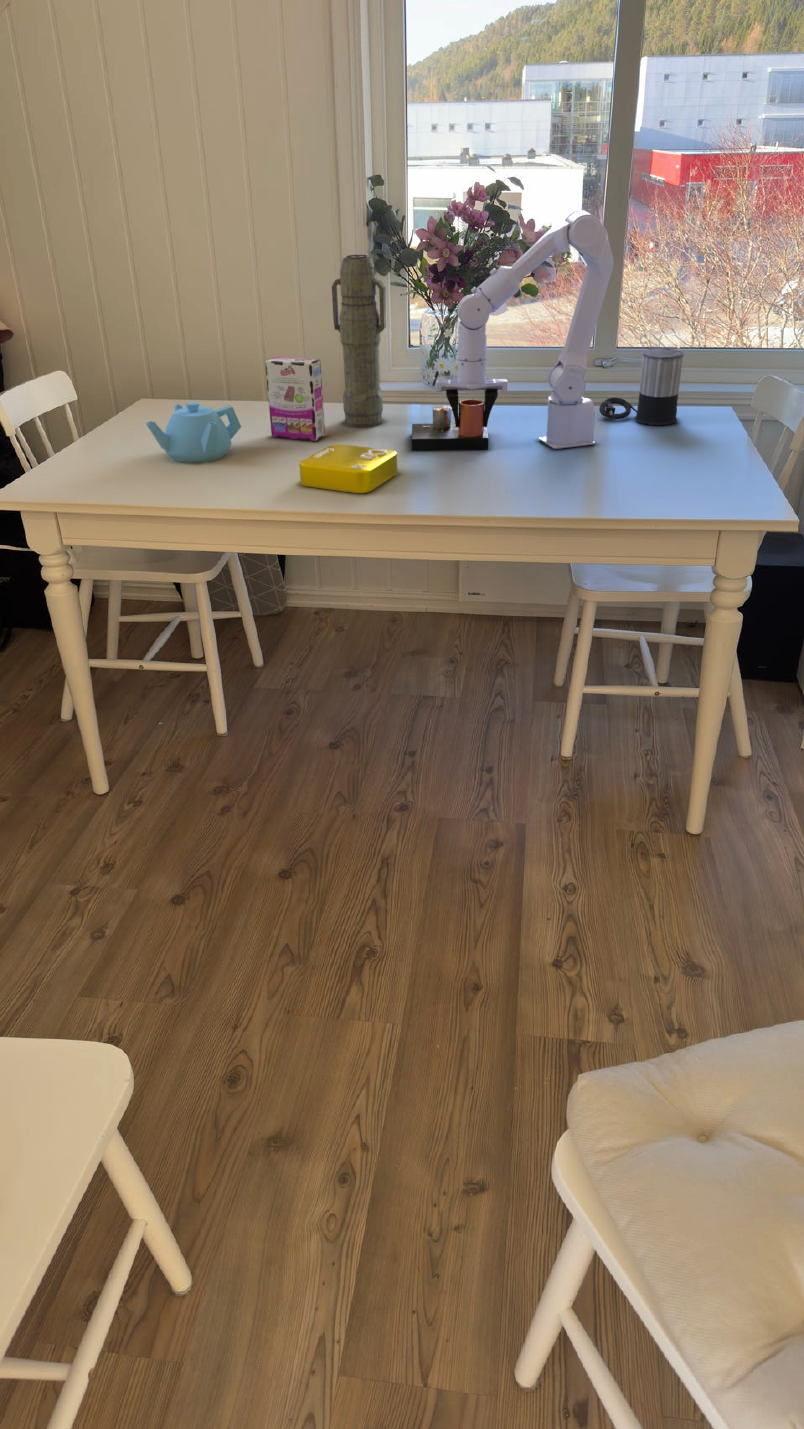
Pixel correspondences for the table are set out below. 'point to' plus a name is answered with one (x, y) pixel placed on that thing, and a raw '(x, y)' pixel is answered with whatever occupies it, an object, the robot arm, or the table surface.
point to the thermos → (360, 339)
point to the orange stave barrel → (471, 418)
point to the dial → (441, 417)
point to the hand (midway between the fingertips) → (470, 426)
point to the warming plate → (445, 439)
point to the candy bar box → (295, 398)
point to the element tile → (348, 468)
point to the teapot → (197, 433)
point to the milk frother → (653, 389)
